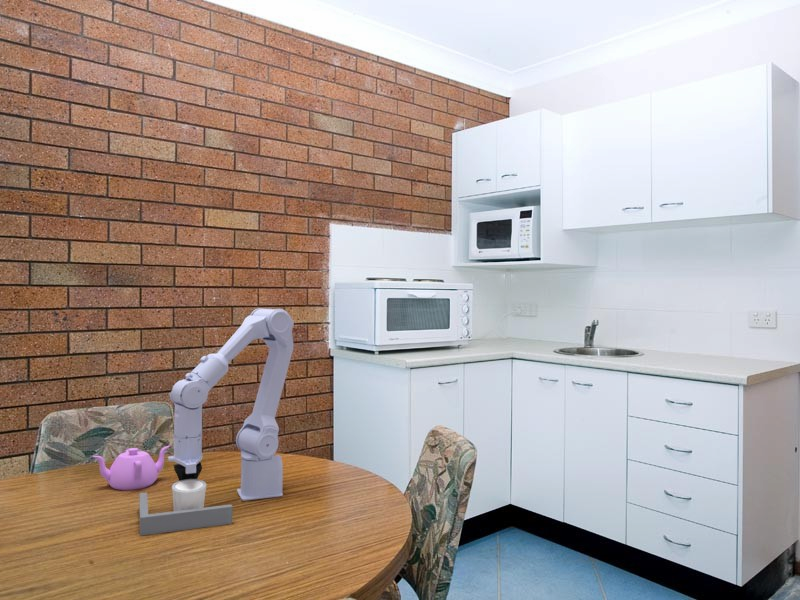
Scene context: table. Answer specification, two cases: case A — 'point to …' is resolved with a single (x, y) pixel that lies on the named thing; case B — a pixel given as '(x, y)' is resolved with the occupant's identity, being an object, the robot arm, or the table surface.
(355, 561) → the table surface
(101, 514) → the table surface
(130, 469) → the teapot
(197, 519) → the l-shaped bracket
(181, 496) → the shot glass
